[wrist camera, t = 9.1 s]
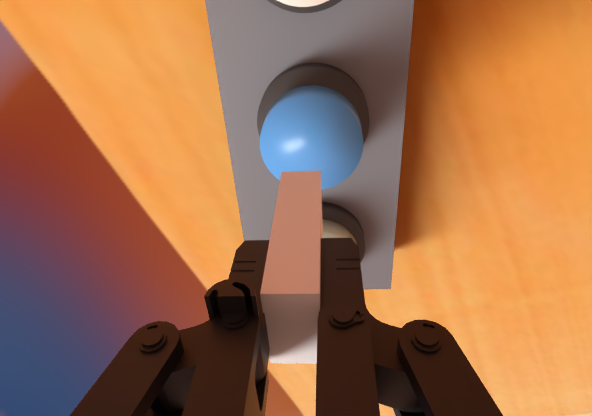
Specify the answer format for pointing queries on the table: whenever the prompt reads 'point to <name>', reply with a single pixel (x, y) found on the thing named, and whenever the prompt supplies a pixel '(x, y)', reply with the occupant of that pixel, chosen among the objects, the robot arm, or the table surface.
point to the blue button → (312, 134)
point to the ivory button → (302, 2)
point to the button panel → (328, 73)
